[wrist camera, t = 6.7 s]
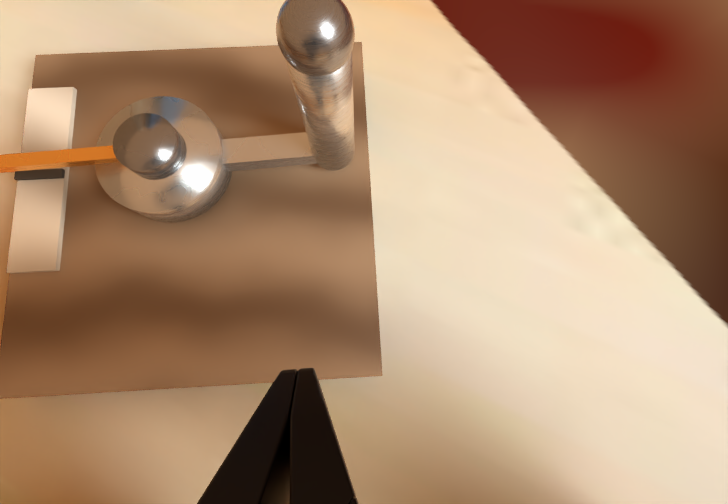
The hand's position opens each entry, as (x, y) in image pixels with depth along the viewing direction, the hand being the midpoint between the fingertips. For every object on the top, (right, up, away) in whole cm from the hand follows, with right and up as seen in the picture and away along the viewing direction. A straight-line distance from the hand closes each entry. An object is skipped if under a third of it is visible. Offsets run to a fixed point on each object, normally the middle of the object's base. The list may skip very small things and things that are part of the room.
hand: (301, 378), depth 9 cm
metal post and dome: (-8, +8, +12) cm, 16 cm away
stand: (-8, +6, +14) cm, 17 cm away
